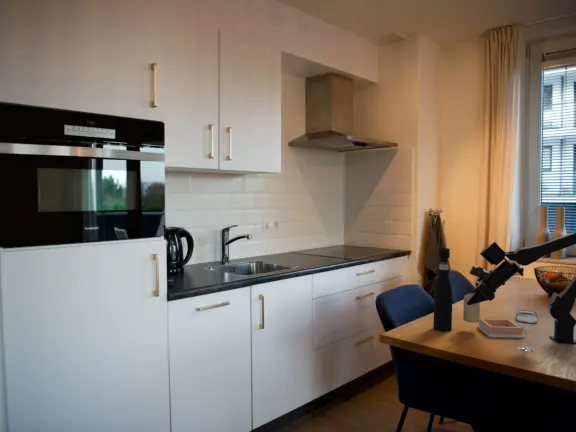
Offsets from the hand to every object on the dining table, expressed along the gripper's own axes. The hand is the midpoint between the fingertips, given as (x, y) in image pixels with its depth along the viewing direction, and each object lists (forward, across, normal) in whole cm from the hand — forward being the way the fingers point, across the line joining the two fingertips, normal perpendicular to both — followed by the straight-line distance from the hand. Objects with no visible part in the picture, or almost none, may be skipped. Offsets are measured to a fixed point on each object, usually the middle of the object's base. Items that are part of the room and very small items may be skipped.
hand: (467, 302), depth 163 cm
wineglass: (-5, +15, +20) cm, 25 cm away
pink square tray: (0, -2, +15) cm, 15 cm away
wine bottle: (+13, +3, +1) cm, 14 cm away
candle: (+4, 0, +6) cm, 7 cm away
